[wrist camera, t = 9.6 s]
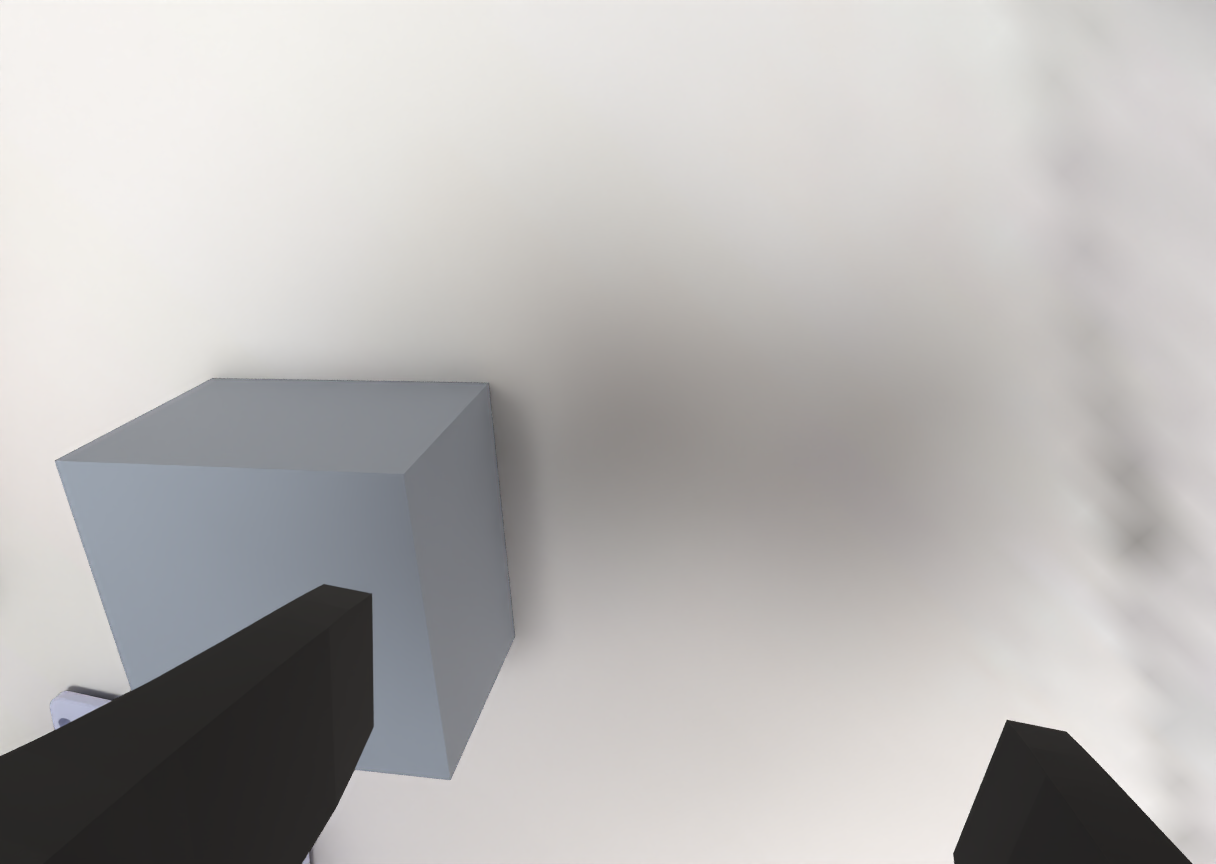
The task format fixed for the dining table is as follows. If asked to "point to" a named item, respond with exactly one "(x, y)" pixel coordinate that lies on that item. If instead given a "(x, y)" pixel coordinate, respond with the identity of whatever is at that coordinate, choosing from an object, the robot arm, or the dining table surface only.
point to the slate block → (311, 537)
